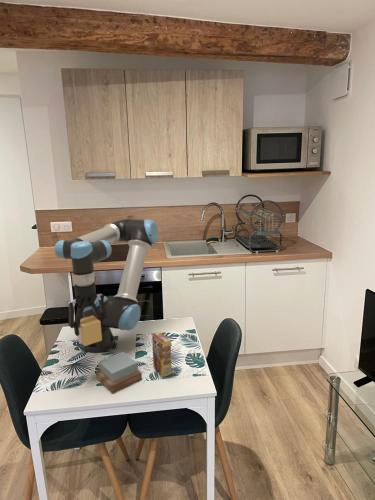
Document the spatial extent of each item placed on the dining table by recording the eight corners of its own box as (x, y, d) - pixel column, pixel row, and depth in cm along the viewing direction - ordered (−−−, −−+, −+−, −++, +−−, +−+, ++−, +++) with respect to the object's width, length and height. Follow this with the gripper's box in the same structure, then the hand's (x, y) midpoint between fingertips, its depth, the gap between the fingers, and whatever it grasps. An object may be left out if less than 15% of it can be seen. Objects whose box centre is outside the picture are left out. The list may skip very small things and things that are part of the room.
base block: (96, 379, 142) (95, 371, 141) (125, 367, 150) (124, 359, 149) (112, 395, 132) (111, 385, 131) (141, 381, 140) (141, 372, 139)
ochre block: (77, 339, 138) (75, 320, 136) (94, 333, 142) (93, 315, 140) (84, 346, 133) (82, 326, 131) (102, 340, 137) (100, 321, 135)
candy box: (172, 374, 143) (171, 340, 139) (163, 377, 141) (161, 343, 137) (162, 364, 150) (160, 331, 147) (153, 367, 148) (151, 334, 144)
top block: (99, 370, 141) (98, 361, 140) (123, 360, 148) (123, 351, 147) (112, 383, 133) (112, 373, 132) (137, 371, 139) (137, 362, 138)
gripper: (60, 291, 123) (67, 351, 129) (113, 280, 135) (117, 335, 140) (54, 286, 129) (60, 343, 135) (105, 275, 141) (109, 328, 146)
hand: (89, 339), depth 137 cm, fingers closed on ochre block, 7 cm apart
